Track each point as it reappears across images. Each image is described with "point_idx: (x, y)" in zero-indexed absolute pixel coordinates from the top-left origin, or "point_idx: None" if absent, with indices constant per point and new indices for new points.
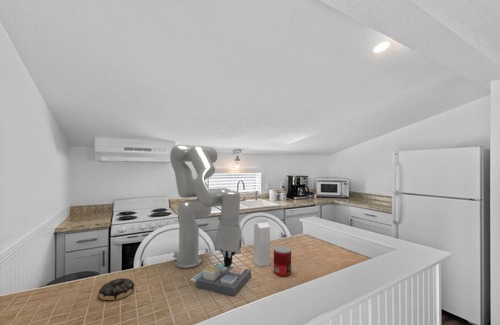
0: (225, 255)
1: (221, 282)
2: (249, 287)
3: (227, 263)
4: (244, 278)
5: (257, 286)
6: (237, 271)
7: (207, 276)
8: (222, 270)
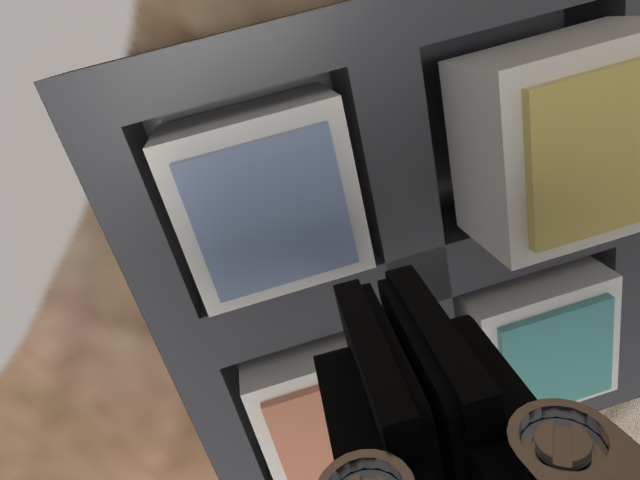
0: (517, 456)
1: (319, 96)
2: (96, 328)
3: (358, 325)
4: (175, 375)
5: (46, 391)
6: (300, 403)
7: (570, 33)
8: (492, 314)
